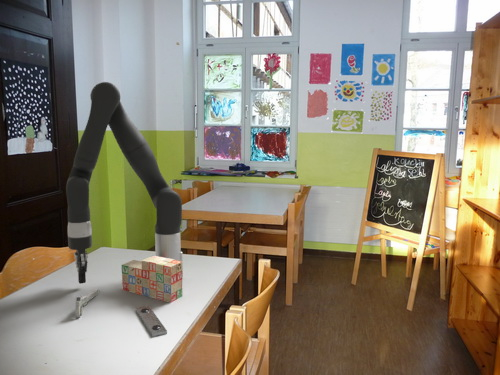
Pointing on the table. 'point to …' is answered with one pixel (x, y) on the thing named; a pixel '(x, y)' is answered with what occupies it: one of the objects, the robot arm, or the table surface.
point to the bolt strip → (151, 321)
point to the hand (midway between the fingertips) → (82, 282)
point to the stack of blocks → (154, 278)
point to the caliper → (83, 302)
